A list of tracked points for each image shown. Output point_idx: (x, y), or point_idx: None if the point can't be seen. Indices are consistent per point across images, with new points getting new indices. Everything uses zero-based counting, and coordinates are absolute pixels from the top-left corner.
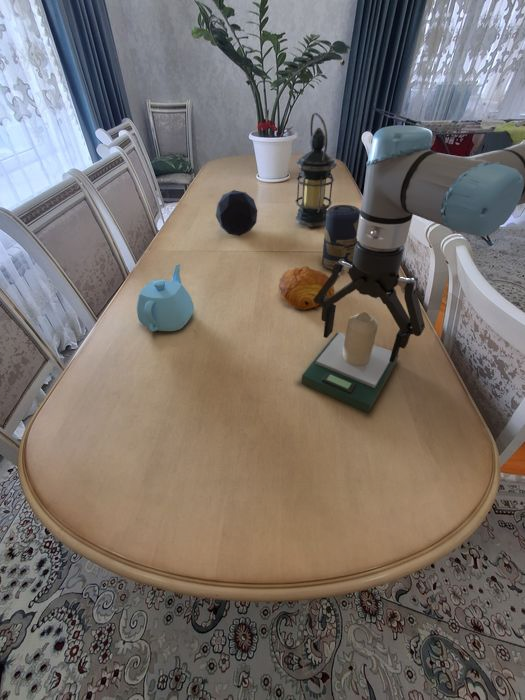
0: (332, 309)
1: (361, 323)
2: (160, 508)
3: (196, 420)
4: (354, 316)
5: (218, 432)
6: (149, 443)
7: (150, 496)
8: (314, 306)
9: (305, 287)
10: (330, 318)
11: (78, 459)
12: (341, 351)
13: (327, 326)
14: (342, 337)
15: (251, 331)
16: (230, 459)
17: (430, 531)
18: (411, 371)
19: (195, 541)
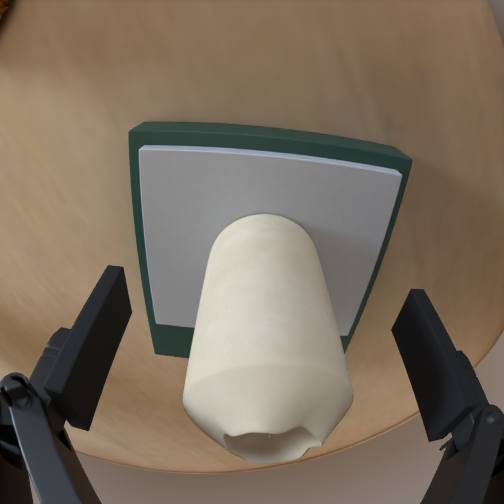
0: (79, 414)
1: (268, 459)
2: (159, 458)
3: (95, 411)
4: (207, 426)
5: (130, 419)
6: (91, 430)
7: (143, 454)
8: (4, 9)
9: None
10: (97, 378)
11: (70, 439)
12: (202, 258)
13: (110, 358)
14: (166, 175)
15: None
16: (172, 434)
17: (408, 413)
18: (438, 168)
19: (204, 465)
